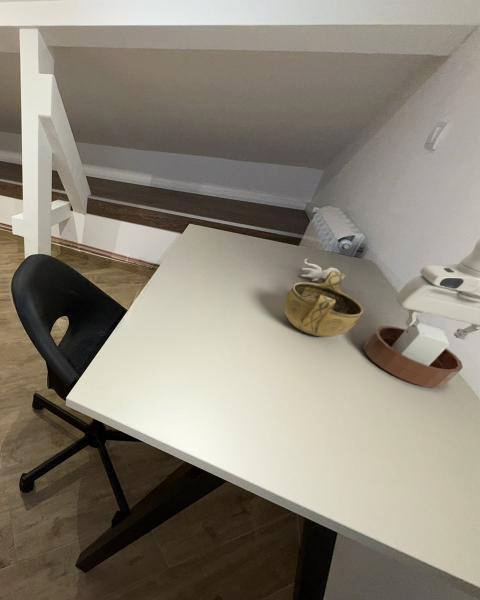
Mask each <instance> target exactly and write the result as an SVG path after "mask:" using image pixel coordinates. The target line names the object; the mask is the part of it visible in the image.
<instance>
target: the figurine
mask: <svg viewBox="0 0 480 600" xmlns="http://www.w3.org/2000/svg"><path fill="white" fill-rule="evenodd" d="M307 260H308V258H305V259H304V261H303V262H304V264H305V265H307V266H310V267H313V268H310V267H309V268H308V267H302V269H301V270H303V271H307V272H308V274H301V275H300V277H301V278H307V279H309V278H311V279H312V280H311V282H317V281H318V280H319V279H320V278H322V279H324V280H325V279H326V278H327V276H328V275H329V273H330V272H331V271H336V272H339V273H341V271H340V270H338V268H335V267H328V268H327V269H322V268H321V266H320V265H318V264H316V263H309V262H307Z"/></svg>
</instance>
